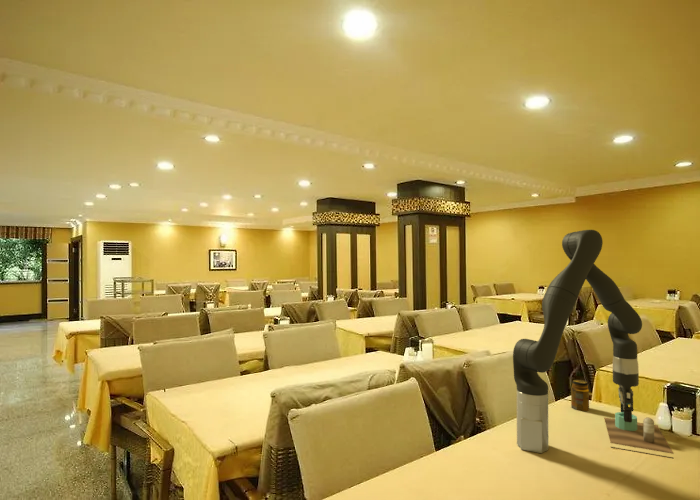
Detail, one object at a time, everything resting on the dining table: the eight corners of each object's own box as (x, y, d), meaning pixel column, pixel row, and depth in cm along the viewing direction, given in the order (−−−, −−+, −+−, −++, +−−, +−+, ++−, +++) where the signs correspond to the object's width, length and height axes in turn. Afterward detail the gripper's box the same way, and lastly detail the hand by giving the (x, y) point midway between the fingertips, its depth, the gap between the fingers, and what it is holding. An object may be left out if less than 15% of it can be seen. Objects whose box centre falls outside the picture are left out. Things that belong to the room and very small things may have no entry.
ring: (638, 432, 141) (638, 420, 141) (616, 428, 144) (616, 416, 144) (635, 425, 147) (635, 414, 147) (614, 422, 150) (614, 411, 150)
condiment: (593, 413, 163) (593, 382, 163) (582, 418, 158) (582, 385, 158) (575, 407, 169) (574, 377, 169) (563, 412, 164) (563, 380, 164)
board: (673, 458, 126) (673, 428, 126) (610, 447, 133) (610, 419, 133) (657, 429, 147) (657, 403, 147) (604, 421, 154) (603, 396, 155)
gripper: (610, 364, 154) (611, 409, 154) (614, 374, 141) (615, 422, 141) (635, 366, 151) (635, 412, 151) (642, 376, 138) (642, 426, 138)
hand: (626, 417), depth 146 cm, fingers open, 8 cm apart
